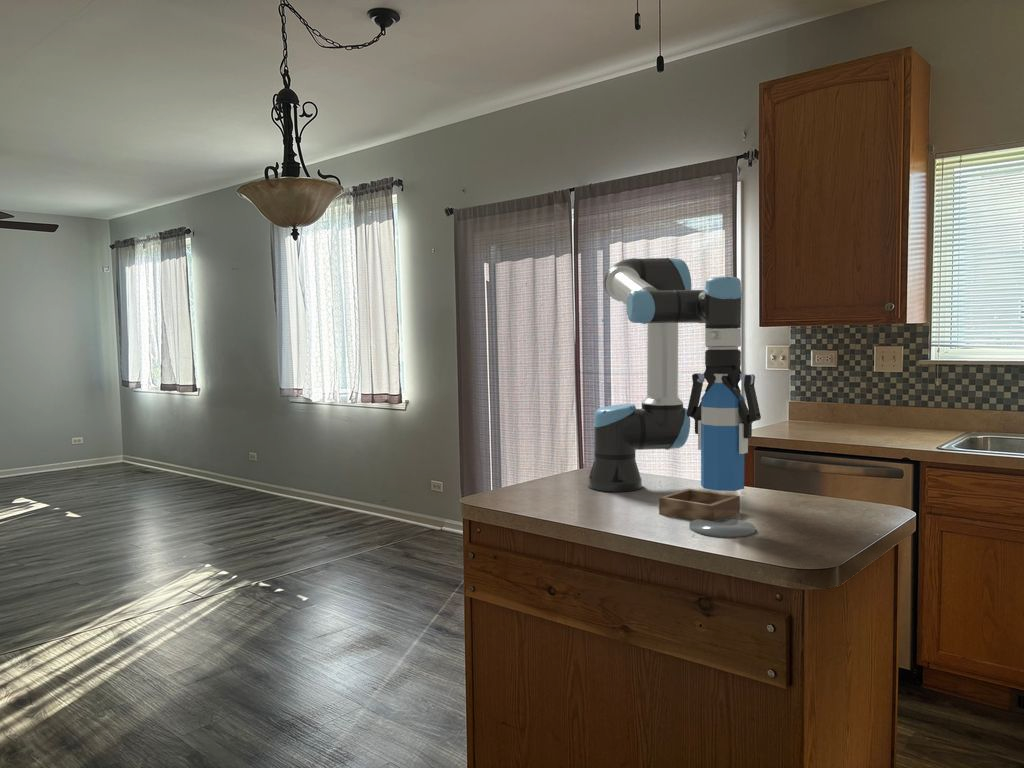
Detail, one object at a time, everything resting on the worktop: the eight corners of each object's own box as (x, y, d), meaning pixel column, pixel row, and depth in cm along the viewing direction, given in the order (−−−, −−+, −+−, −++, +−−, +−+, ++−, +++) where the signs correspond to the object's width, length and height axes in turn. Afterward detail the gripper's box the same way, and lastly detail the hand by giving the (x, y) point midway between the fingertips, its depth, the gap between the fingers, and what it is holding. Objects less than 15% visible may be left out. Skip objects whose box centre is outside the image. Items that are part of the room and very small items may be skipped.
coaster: (677, 529, 162) (677, 526, 162) (708, 518, 172) (708, 514, 172) (736, 541, 152) (736, 537, 152) (766, 528, 162) (766, 524, 162)
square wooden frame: (659, 513, 176) (659, 497, 176) (688, 504, 187) (688, 488, 186) (711, 523, 167) (711, 506, 167) (739, 512, 177) (739, 496, 177)
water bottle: (695, 488, 159) (696, 374, 158) (705, 481, 168) (706, 372, 166) (740, 492, 155) (740, 374, 154) (748, 484, 163) (748, 372, 162)
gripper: (670, 348, 164) (670, 448, 166) (763, 348, 149) (762, 458, 151) (687, 348, 170) (687, 444, 171) (778, 348, 155) (777, 453, 156)
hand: (722, 451), depth 161 cm, fingers closed on water bottle, 9 cm apart
